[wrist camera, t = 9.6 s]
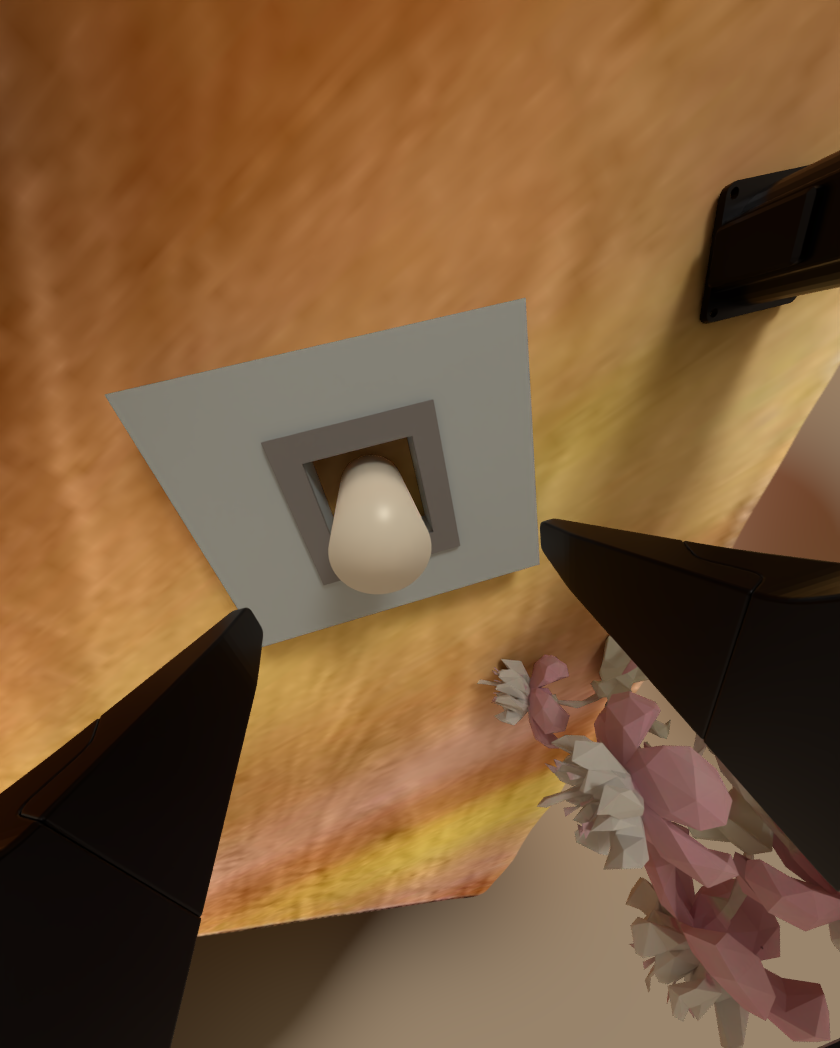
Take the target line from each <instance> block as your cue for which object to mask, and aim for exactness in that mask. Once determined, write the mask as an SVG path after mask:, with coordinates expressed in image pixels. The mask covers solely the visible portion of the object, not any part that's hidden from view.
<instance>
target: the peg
mask: <svg viewBox="0 0 840 1048" xmlns="http://www.w3.org/2000/svg"><path fill="white" fill-rule="evenodd" d="M328 556H329V561H330V564H331V567H332V569H333V571H334V573H335V574H336V575H337V577H338V578H339V579H340V580H341V581H342V582H343V583H344V584H346V585H347V586H349V587H350V588H352V589H354V590H357V591H359V592H363V593H367V594H388V593H392V592H396V591H398V590H401V589H403V588H405V587H407V586H409V585H410V584H412V583H413V582H414V581H415V580H416V579H417V578H418V577H419V576H420V575H421V574H422V573H423V571H424V570H425V568H426V567H427V564H428V562H429V559H430V556H431V538H430V535H429V532H428V530H427V528H426V526H425V524H424V522H423V520H422V518H421V516H420V514H419V511H418V509H417V507H416V505H415V503H414V501H413V499H412V497H411V495H410V493H409V491H408V489H407V487H406V485H405V483H404V481H403V478H402V476H401V474H400V472H399V470H398V469H397V467H396V466H395V465H394V464H393V463H392V462H391V461H389V460H388V459H386V458H384V457H381V456H377V455H365V456H361V457H358V458H356V459H355V460H353V461H352V462H351V463H349V464H348V466H347V467H346V468H345V470H344V472H343V474H342V477H341V482H340V487H339V492H338V498H337V503H336V509H335V514H334V519H333V525H332V530H331V536H330V541H329V547H328Z"/></svg>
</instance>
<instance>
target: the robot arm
mask: <svg viewBox="0 0 840 1048" xmlns="http://www.w3.org/2000/svg"><path fill="white" fill-rule="evenodd" d="M730 194H731V197H730ZM837 287H840V150H839V151H837V152H835V153H833V154H831V155H829V156H827V157H825V158H823V159H821V160H819V161H817V162H815V163H813V164H811V165H808V166H803V167H798V168H794V169H789V170H784V171H780V172H775V173H770V174H765V175H761V176H756V177H751V178H746V179H742V180H737V181H735V182H733V183H731V184H729V185H727V186H726V187H725V188H724V189H723V190H722V192H721V193H720V196H719V200H718V207H717V213H716V219H715V226H714V232H713V238H712V245H711V251H710V257H709V264H708V270H707V276H706V283H705V289H704V296H703V302H702V308H701V315H700V320H701V322H702V323H711V322H715V321H719V320H723V319H727V318H731V317H735V316H739V315H743V314H748V313H752V312H756V311H760V310H764V309H768V308H772V307H776V306H780V305H784V304H788V303H791V302H792V301H793V300H795V298H796V297H797V296H799V295H804V294H809V293H813V292H818V291H823V290H828V289H833V288H837ZM710 313H711V315H710ZM540 536H541V548H542V550H543V552H544V554H545V555H546V557H547V558H548V560H549V561H550V562H551V564H552V565H553V567H554V568H555V570H556V571H557V572H558V574H559V575H560V577H561V578H562V580H563V581H564V583H565V584H566V585H567V587H568V588H569V589H570V590H571V592H572V593H573V594H574V595H575V596H576V597H577V599H578V600H579V601H580V602H581V603H582V604H583V605H584V607H585V608H586V609H587V610H588V611H589V612H590V613H591V614H592V616H593V617H594V618H595V619H596V620H597V621H598V622H599V624H600V625H601V626H602V627H603V628H604V629H605V630H606V631H607V633H608V634H609V635H610V636H611V637H612V638H613V639H614V641H615V642H616V643H617V644H618V645H619V646H620V647H621V648H622V650H623V651H624V652H625V653H626V654H627V655H628V656H629V658H630V659H631V660H632V661H633V662H634V663H635V664H636V665H637V667H638V668H639V669H640V670H641V671H642V672H643V673H644V675H645V676H646V677H647V678H648V679H649V680H650V681H651V682H652V684H653V685H654V686H655V687H656V688H657V689H658V690H659V692H660V693H661V694H662V695H663V696H664V697H665V698H666V699H667V701H668V702H669V703H670V704H671V705H672V706H673V707H674V709H675V710H676V711H677V712H678V713H679V714H680V715H681V716H682V718H683V719H684V720H685V721H686V722H687V723H688V724H689V726H690V727H691V728H692V729H693V730H694V731H695V732H696V733H697V735H698V736H699V737H700V738H701V739H703V740H704V743H705V744H706V745H707V746H708V747H709V749H710V750H711V751H712V752H713V753H714V754H715V755H716V757H717V758H718V759H719V760H720V761H721V762H722V763H723V764H724V766H725V767H726V768H727V769H728V770H729V771H730V772H731V774H732V775H733V776H734V777H735V778H736V779H737V780H738V781H739V783H740V784H741V785H742V786H743V787H744V788H745V789H746V791H747V792H748V793H749V794H750V795H751V796H752V797H753V798H754V800H755V801H756V802H757V803H758V804H759V805H760V806H761V808H762V809H763V810H764V811H765V812H766V813H767V814H768V815H769V817H770V818H771V819H772V820H773V821H774V822H775V823H776V825H777V826H778V827H779V828H780V829H781V830H782V831H783V832H784V834H785V835H786V836H787V837H788V838H789V839H790V840H791V842H792V843H793V844H794V845H795V846H796V847H797V848H798V849H799V851H800V852H801V853H802V854H803V855H804V856H805V857H806V859H807V860H808V861H809V862H810V863H811V864H812V865H813V866H814V868H815V869H816V870H817V871H818V872H819V873H820V874H821V875H822V876H823V878H824V879H825V880H826V881H827V882H828V883H829V884H830V885H831V886H832V887H833V888H834V889H835V890H836V891H838V892H840V563H837V562H829V561H821V560H814V559H806V558H798V557H791V556H783V555H775V554H768V553H760V552H753V551H746V550H738V549H731V548H725V547H719V546H712V545H706V544H700V543H694V542H688V541H684V542H682V541H681V540H676V539H671V538H665V537H659V536H653V535H647V534H642V533H636V532H630V531H624V530H618V529H612V528H607V527H601V526H595V525H589V524H583V523H578V522H572V521H566V520H560V519H550V520H547V521H543V522H542V523H541V525H540ZM262 642H263V630H262V627H261V625H260V624H259V622H258V620H257V619H256V617H255V615H254V614H253V612H252V611H251V609H249V608H247V607H245V608H241V609H238V610H234V611H232V612H231V613H229V614H228V615H227V616H226V617H224V618H223V619H222V620H221V621H219V622H218V623H217V624H216V625H214V626H213V627H212V628H211V629H209V630H208V631H207V632H206V633H204V634H203V635H202V636H201V637H199V638H198V639H197V640H196V641H194V642H193V643H192V644H191V645H189V646H188V647H187V648H186V649H184V650H183V651H182V652H181V653H179V654H178V655H177V656H175V657H174V658H173V659H172V660H170V661H169V662H168V663H167V664H165V665H164V666H163V667H162V668H160V669H159V670H158V671H157V672H155V673H154V674H153V675H152V676H150V677H149V678H148V679H147V680H145V681H144V682H143V683H142V684H140V685H139V686H138V687H137V688H135V689H134V690H133V691H132V692H130V693H129V694H128V695H127V696H125V697H124V698H123V699H122V700H120V701H119V702H118V703H116V704H115V705H114V706H113V707H111V708H110V709H109V710H108V711H106V712H105V713H104V714H103V715H102V716H101V717H100V719H96V720H95V721H94V722H93V723H91V724H90V725H89V726H88V727H86V728H85V729H84V730H83V731H81V732H80V733H79V734H77V735H76V736H75V737H74V738H72V739H71V740H70V741H69V742H67V743H66V744H65V745H63V746H62V747H61V748H60V749H58V750H57V751H56V752H54V753H53V754H52V755H51V756H49V757H48V758H47V759H45V760H44V761H43V762H42V763H40V764H39V765H38V766H36V767H35V768H34V769H32V770H31V771H30V772H28V773H27V774H26V775H24V776H23V777H22V778H20V779H19V780H18V781H16V782H15V783H14V784H12V785H11V786H10V787H9V788H7V789H6V790H5V791H3V792H2V793H0V1048H170V1047H171V1043H172V1039H173V1034H174V1030H175V1026H176V1022H177V1018H178V1014H179V1009H180V1005H181V1001H182V997H183V993H184V989H185V984H186V980H187V976H188V972H189V967H190V964H191V959H192V955H193V951H194V946H195V942H196V938H197V934H198V930H199V926H200V922H201V918H200V916H201V915H202V912H203V908H204V904H205V900H206V896H207V891H208V887H209V883H210V879H211V875H212V871H213V866H214V862H215V858H216V854H217V850H218V846H219V841H220V837H221V833H222V829H223V825H224V820H225V816H226V812H227V808H228V804H229V800H230V795H231V791H232V787H233V783H234V779H235V775H236V770H237V766H238V762H239V758H240V754H241V750H242V745H243V741H244V737H245V733H246V729H247V724H248V720H249V716H250V712H251V708H252V704H253V699H254V695H255V691H256V686H257V680H258V673H259V665H260V658H261V650H262ZM818 1048H840V1038H839V1039H837V1040H834V1041H832V1042H830V1043H828V1044H825V1045H823V1046H821V1047H818Z"/></svg>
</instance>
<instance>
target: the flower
mask: <svg viewBox="0 0 840 1048" xmlns="http://www.w3.org/2000/svg"><path fill="white" fill-rule="evenodd" d="M501 660H502V661H503V663H504V664H505V665H506V667H507V668H508V670H503V669H501V671H499V670H497V669H496V668H495V667H494V668H495V669H496V670H497V672H498V673H496V672H495V671H493V670H492V671H493V672H494V674H495V675H498V676H499V678H500V679H501V680H503V681H501V682H500V681H498V680H494V681H497V682H492V681H486V680H481V679H480V680H479V681H478V683H477V684H487V685H494V686H497V687H496V688H495V690H498V691H500V692H498V693H497V692H494V693H493V694H496V695H497V697H494V698H493V700H494V701H493V700H492V702H491V703H493V702H495V704H498V705H500V706H502V707H503V709H504V711H503V712H501V713H499V714H497V715H495V717H496V718H497V719H498V720H500V721H502V722H505V723H508V724H511V725H515V724H516V723H517V722H518V721H520V720H521V719H522V717H523V716H524V715H525V714H526V713H527V712H528V714H529V723H530V726H531V728H532V731H533V734H534V737H535V739H536V740H538V741H539V742H541V743H542V744H544V745H545V746H547V747H548V748H560V749H562V750H564V751H566V752H568V753H570V755H568V756H567V757H566V758H565V760H564V761H563V762H561V761H558V760H555V759H554V761H555V764H556V766H557V767H554V766H551V765H548V764H546V765H547V766H548V767H549V769H550V770H551V771H552V772H553V773H555V775H556V776H557V777H558V778H559V780H560V781H562V782H564V783H567V784H569V785H572V786H574V787H572V788H570V789H568V790H566V791H563V792H560V793H557V794H553V795H550V796H547V797H544V798H543V799H542V800H541V802H540V803H539V804H538V805H537V807H546V808H547V807H549V806H552V805H554V804H557V803H559V802H562V801H565V800H566V801H568V802H570V803H572V804H575V805H577V806H576V807H567V808H564V811H565V816H567V815H569V814H570V813H572V812H573V811H574V810H576V809H578V808H579V807H583V808H582V809H581V810H580V812H579V813H578V814H577V816H576V817H575V818H574V821H577V822H579V823H582V826H580V825H578V830H577V831H575V837H576V842H577V843H579V844H581V845H583V846H585V847H587V848H589V849H591V850H593V851H595V852H597V853H599V854H603V855H608V857H607V860H606V863H605V866H604V869H631V868H642V867H643V866H645V868H646V871H647V873H648V876H649V878H650V880H651V883H652V884H650V883H649V882H648V881H647V880H646V879H644V878H641V877H640V878H639V880H638V881H637V882H636V884H635V885H634V887H633V888H632V890H631V892H630V894H629V897H628V899H627V902H626V904H627V905H630V906H632V907H635V908H637V909H640V910H641V911H642V912H644V914H646V915H647V916H646V917H645V918H644V919H643V918H640V917H637V919H636V920H635V921H634V922H633V923H632V925H631V930H632V936H633V942H634V944H630V945H631V946H632V947H634V948H635V953H636V954H638V955H639V956H641V957H642V958H645V957H650V956H655V957H653V958H651V959H649V960H646V961H644V962H643V965H644V969H646V968H647V967H648V966H649V965H651V964H652V963H653V962H654V961H655V964H654V965H653V967H652V969H651V971H650V973H649V974H648V976H647V978H646V979H645V982H646V985H647V989H648V992H649V991H650V980H651V977H652V976H653V975H654V974H655V975H656V977H657V979H658V981H659V982H661V983H665V984H669V983H671V982H673V984H672V985H669V986H668V998H667V1002H668V1000H669V997H670V1002H671V1008H672V1014H673V1016H674V1017H676V1018H678V1019H679V1020H681V1021H684V1019H685V1016H686V1014H687V1012H688V1010H689V1011H690V1013H691V1014H692V1016H693V1017H694V1016H695V1017H696V1019H697V1020H698V1021H699V1020H700V1018H701V1017H702V1016H703V1015H704V1014H705V1013H706V1012H707V1010H708V1009H709V1008H710V1007H711V1006H712V1005H713V1004H714V1005H715V1011H716V1017H717V1023H718V1030H719V1035H720V1042H721V1046H722V1047H724V1048H742V1047H743V1044H744V1038H745V1031H746V1026H747V1021H748V1015H749V1012H750V1013H752V1014H754V1015H756V1016H758V1017H760V1018H761V1019H763V1020H765V1021H766V1019H767V1018H768V1019H769V1020H770V1021H771V1022H773V1023H774V1024H775V1025H776V1026H777V1027H778V1028H779V1029H780V1030H781V1031H783V1032H784V1033H785V1034H786V1035H787V1036H788V1037H789V1038H790V1039H792V1040H793V1041H802V1042H820V1041H828V1040H830V1023H829V1011H828V1007H827V1003H826V999H825V996H824V993H823V990H822V988H821V985H820V984H818V983H811V982H805V981H798V980H792V979H785V978H781V977H779V976H778V975H775V974H774V973H772V972H770V971H768V970H767V969H765V968H764V967H763V965H762V963H761V960H766V959H771V958H777V957H780V926H779V924H778V922H777V920H776V918H775V916H776V917H778V918H780V919H782V920H784V921H786V922H788V923H790V924H792V925H794V926H796V927H798V928H800V929H802V930H804V931H808V930H810V929H813V928H816V927H819V926H822V925H825V924H828V923H829V929H830V936H831V941H832V942H833V944H834V946H835V947H836V948H837V949H838V950H839V951H840V892H838V891H836V890H835V889H834V888H833V887H832V886H831V885H830V884H829V883H828V882H827V881H826V880H825V879H824V878H823V876H822V875H821V874H820V873H819V872H818V871H817V870H816V869H815V868H814V866H813V865H812V864H811V863H810V862H809V861H808V860H807V859H806V857H805V856H804V855H803V854H802V853H801V852H800V851H799V849H798V848H797V847H796V846H795V845H794V844H793V843H792V842H791V840H790V839H789V838H788V837H787V836H786V835H785V834H784V832H783V831H782V830H781V829H780V828H779V827H778V826H777V825H776V823H775V822H774V821H773V820H772V819H771V818H770V817H769V815H768V814H767V813H766V812H765V811H764V810H763V809H762V808H761V806H760V805H759V804H758V803H757V802H756V801H755V800H754V798H753V797H752V796H751V795H750V794H749V793H748V792H747V791H746V789H745V788H744V787H743V786H742V785H741V784H740V783H739V781H738V780H737V779H736V778H735V777H734V776H733V775H732V774H731V772H730V771H729V770H728V769H727V768H726V767H725V766H724V764H723V763H722V762H721V761H720V760H719V759H718V758H717V757H716V755H715V754H714V753H713V752H712V751H711V750H710V749H709V747H708V746H707V745H706V744H705V743H704V740H703V739H701V738H700V737H699V736H698V735H697V733H696V738H695V743H694V748H693V749H692V748H691V747H690V746H664V745H663V746H655V747H651V746H650V745H649V744H648V742H644V748H641V747H640V746H639V745H640V744H641V742H642V740H643V739H644V737H645V736H646V734H647V732H651V733H653V734H655V735H657V736H659V737H661V738H665V739H667V737H668V734H669V728H670V721H671V720H669V721H668V722H667V723H665V724H663V723H661V722H659V721H657V720H656V718H657V716H658V715H659V713H660V711H661V710H660V709H659V707H658V705H657V704H656V702H654V701H652V700H649V699H647V698H645V697H642V696H640V695H637V694H635V693H632V691H631V686H632V684H633V683H635V682H640V681H645V680H649V679H648V678H647V677H646V676H645V675H644V673H643V672H642V671H641V670H640V669H639V668H638V667H637V665H636V664H635V663H634V662H633V661H632V660H631V659H630V658H629V656H628V655H627V654H626V653H625V652H624V651H623V650H622V648H621V647H620V646H619V645H618V644H617V643H616V642H615V641H614V639H613V638H612V637H611V636H610V635H609V637H608V638H607V640H606V643H605V649H604V655H603V661H602V665H601V668H600V671H599V674H600V676H601V680H602V681H594V680H593V681H592V683H591V685H592V687H593V689H594V690H595V692H596V694H594V695H592V696H590V697H589V698H587V699H585V700H583V701H566V700H558V699H557V697H556V695H555V694H554V695H552V693H551V692H550V690H549V689H548V688H542V686H545V685H547V684H549V683H552V682H555V681H557V680H560V679H563V678H566V677H568V676H569V673H568V669H567V665H566V664H565V663H563V662H562V661H560V660H559V659H558V658H557V657H554V656H552V655H544V656H542V657H541V658H540V659H539V660H538V661H537V662H536V663H535V664H534V668H533V672H532V676H531V679H530V677H529V675H528V673H527V672H526V670H525V668H524V666H523V664H522V662H521V661H515V660H506V659H501ZM603 697H607V699H608V700H607V702H606V704H605V708H604V709H603V710H602V711H601V713H600V714H599V715H598V717H597V719H596V721H595V723H594V727H595V733H596V738H597V742H593V741H591V740H590V739H588V738H587V737H585V736H577V735H565V736H563V737H561V738H559V739H558V738H557V737H556V736H555V735H554V734H553V733H556V732H562V731H565V729H566V726H567V723H568V719H569V716H570V715H569V714H568V713H567V712H566V711H565V710H564V709H563V708H562V707H561V706H560V705H559V704H561V705H566V706H570V707H574V708H580V707H582V706H585V705H587V704H590V703H592V702H595V701H597V700H599V699H601V698H603ZM706 747H707V748H708V749H709V751H710V752H711V753H712V754H714V755H715V757H716V760H717V762H718V765H719V768H720V770H721V772H722V773H723V775H724V776H725V777H726V778H727V779H728V781H729V782H730V783H731V784H732V786H733V788H732V789H731V790H730V791H729V792H728V791H727V789H726V787H725V785H724V783H723V781H722V779H721V778H720V775H719V773H718V772H717V769H716V768H715V767H713V766H712V765H711V764H710V763H709V762H708V761H706V760H705V759H704V758H703V757H702V754H703V752H704V750H705V748H706ZM575 785H576V786H575ZM671 821H674V822H671ZM675 822H676V823H675ZM677 823H679V824H682V825H685V826H687V827H688V829H687V828H685V827H683V826H681V825H679V824H677ZM689 831H690V832H691V834H692V836H693V837H694V838H697V839H706V840H714V841H724V842H731V843H732V844H734V845H735V846H737V847H738V848H739V849H741V850H742V851H743V852H744V854H743V855H741V854H739V853H737V852H735V854H734V858H733V859H732V856H731V854H728V853H723V852H719V851H715V850H711V849H707V848H706V847H704V846H703V845H702V844H700V843H699V842H697V841H696V840H695V839H693V838H692V837H690V836H689ZM772 846H773V848H774V849H775V851H776V852H777V854H778V855H779V857H780V859H781V860H782V862H783V863H784V865H785V866H786V867H787V868H788V869H789V870H791V871H792V872H793V873H795V874H796V875H798V876H799V877H800V878H802V879H803V880H804V881H806V882H804V881H801V880H798V879H795V878H792V877H789V876H787V875H786V874H784V873H782V872H781V871H779V870H777V869H776V868H774V867H772V866H770V865H769V864H767V863H765V862H764V861H762V860H760V859H758V860H754V855H753V854H759V853H765V852H771V851H772ZM609 849H610V851H609ZM608 852H609V854H608ZM734 877H736V878H735V879H732V878H734ZM692 878H693V879H695V880H696V881H698V882H699V883H701V884H702V885H704V886H702V887H701V888H700V889H699V891H698V892H697V893H696V895H695V893H694V886H693V880H692ZM683 977H684V980H685V981H686V982H683V983H678V984H675V983H676V981H678V980H679V979H681V978H683Z"/></svg>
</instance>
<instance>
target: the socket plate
mask: <svg viewBox="0 0 840 1048" xmlns="http://www.w3.org/2000/svg"><path fill="white" fill-rule="evenodd" d="M105 396H106V398H107V400H108V401H109V403H110V404H111V406H112V408H113V409H114V411H115V412H116V414H117V416H118V417H119V419H120V420H121V422H122V424H123V425H124V427H125V428H126V430H127V432H128V433H129V435H130V436H131V438H132V440H133V441H134V443H135V445H136V446H137V448H138V449H139V451H140V453H141V454H142V456H143V457H144V459H145V461H146V462H147V464H148V465H149V467H150V469H151V470H152V472H153V473H154V475H155V477H156V478H157V480H158V481H159V483H160V485H161V486H162V488H163V490H164V491H165V493H166V494H167V496H168V498H169V499H170V501H171V502H172V504H173V506H174V507H175V509H176V510H177V512H178V514H179V515H180V517H181V518H182V520H183V522H184V523H185V525H186V526H187V528H188V530H189V531H190V533H191V535H192V536H193V538H194V539H195V541H196V543H197V544H198V546H199V547H200V549H201V551H202V552H203V554H204V555H205V557H206V559H207V560H208V562H209V563H210V565H211V567H212V568H213V570H214V571H215V573H216V575H217V576H218V578H219V580H220V581H221V583H222V584H223V586H224V588H225V589H226V591H227V592H228V594H229V596H230V597H231V599H232V600H233V602H234V604H235V605H236V607H237V608H238V609H241V608H245V607H247V608H249V609H251V611H252V612H253V614H254V615H255V617H256V619H257V620H258V622H259V624H260V625H261V627H262V630H263V642H262V647H264V646H267V645H271V644H274V643H277V642H281V641H284V640H287V639H291V638H294V637H297V636H301V635H304V634H308V633H311V632H314V631H318V630H321V629H324V628H328V627H331V626H334V625H338V624H341V623H344V622H348V621H351V620H354V619H358V618H361V617H364V616H368V615H371V614H374V613H378V612H381V611H385V610H388V609H391V608H395V607H398V606H401V605H405V604H408V603H411V602H415V601H418V600H421V599H425V598H428V597H431V596H435V595H438V594H441V593H445V592H448V591H452V590H455V589H458V588H462V587H465V586H468V585H472V584H475V583H478V582H482V581H485V580H488V579H492V578H495V577H498V576H502V575H505V574H508V573H512V572H515V571H519V570H522V569H525V568H529V567H532V566H535V565H539V564H540V563H539V544H538V525H537V506H536V487H535V468H534V449H533V430H532V411H531V393H530V374H529V355H528V336H527V317H526V298H522V299H518V300H514V301H509V302H505V303H501V304H496V305H492V306H488V307H483V308H479V309H475V310H470V311H466V312H461V313H457V314H453V315H448V316H444V317H440V318H435V319H431V320H427V321H422V322H418V323H414V324H409V325H405V326H401V327H396V328H392V329H388V330H383V331H379V332H375V333H370V334H366V335H362V336H357V337H353V338H349V339H344V340H340V341H336V342H331V343H327V344H323V345H318V346H314V347H310V348H305V349H301V350H296V351H292V352H288V353H283V354H279V355H275V356H270V357H266V358H262V359H257V360H253V361H249V362H244V363H240V364H236V365H231V366H227V367H223V368H218V369H214V370H210V371H205V372H201V373H197V374H192V375H188V376H184V377H179V378H175V379H171V380H166V381H162V382H158V383H153V384H149V385H145V386H140V387H136V388H131V389H127V390H123V391H118V392H114V393H110V394H105ZM405 437H407V440H408V444H409V448H410V453H411V457H412V461H413V466H414V470H415V474H416V479H417V483H418V487H419V492H420V496H421V500H422V505H423V509H424V513H425V515H424V516H421V518H422V520H423V522H424V524H425V526H426V528H427V530H428V532H429V535H430V538H431V556H430V559H429V562H428V564H427V567H426V568H425V570H424V571H423V573H422V574H421V575H420V576H419V577H418V578H417V579H416V580H415V581H414V582H413V583H412V584H410V585H409V586H407V587H405V588H403V589H401V590H398V591H396V592H392V593H388V594H367V593H363V592H359V591H357V590H354V589H352V588H350V587H349V586H347V585H346V584H344V583H343V582H342V581H341V580H340V579H339V578H338V577H337V575H336V574H335V573H334V571H333V569H332V567H331V564H330V561H329V556H328V547H329V541H330V536H331V530H332V525H333V519H334V517H333V515H332V512H331V509H330V507H329V504H328V501H327V499H326V496H325V493H324V491H323V488H322V486H321V483H320V480H319V478H318V475H317V472H316V470H315V467H314V464H313V462H312V461H316V460H320V459H324V458H328V457H331V456H335V455H339V454H343V453H347V452H351V451H355V450H359V449H362V448H366V447H370V446H374V445H378V444H382V443H386V442H390V441H394V440H397V439H401V438H405Z"/></svg>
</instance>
